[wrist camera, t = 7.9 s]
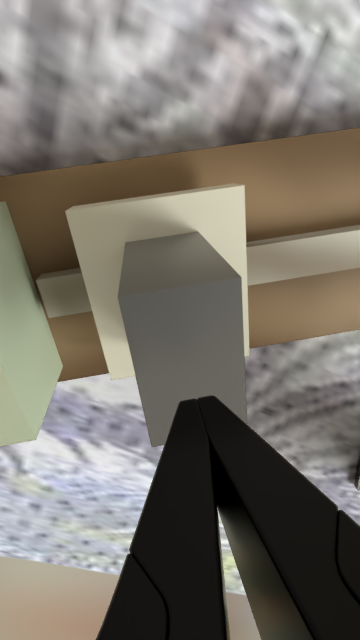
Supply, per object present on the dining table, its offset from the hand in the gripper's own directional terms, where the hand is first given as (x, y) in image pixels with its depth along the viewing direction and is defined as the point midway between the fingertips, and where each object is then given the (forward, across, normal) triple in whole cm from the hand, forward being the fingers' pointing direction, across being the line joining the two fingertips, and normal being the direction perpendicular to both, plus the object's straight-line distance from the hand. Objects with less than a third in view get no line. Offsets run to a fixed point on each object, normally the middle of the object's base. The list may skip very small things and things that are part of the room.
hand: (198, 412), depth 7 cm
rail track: (+12, 0, 0) cm, 12 cm away
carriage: (+9, 0, 0) cm, 9 cm away
